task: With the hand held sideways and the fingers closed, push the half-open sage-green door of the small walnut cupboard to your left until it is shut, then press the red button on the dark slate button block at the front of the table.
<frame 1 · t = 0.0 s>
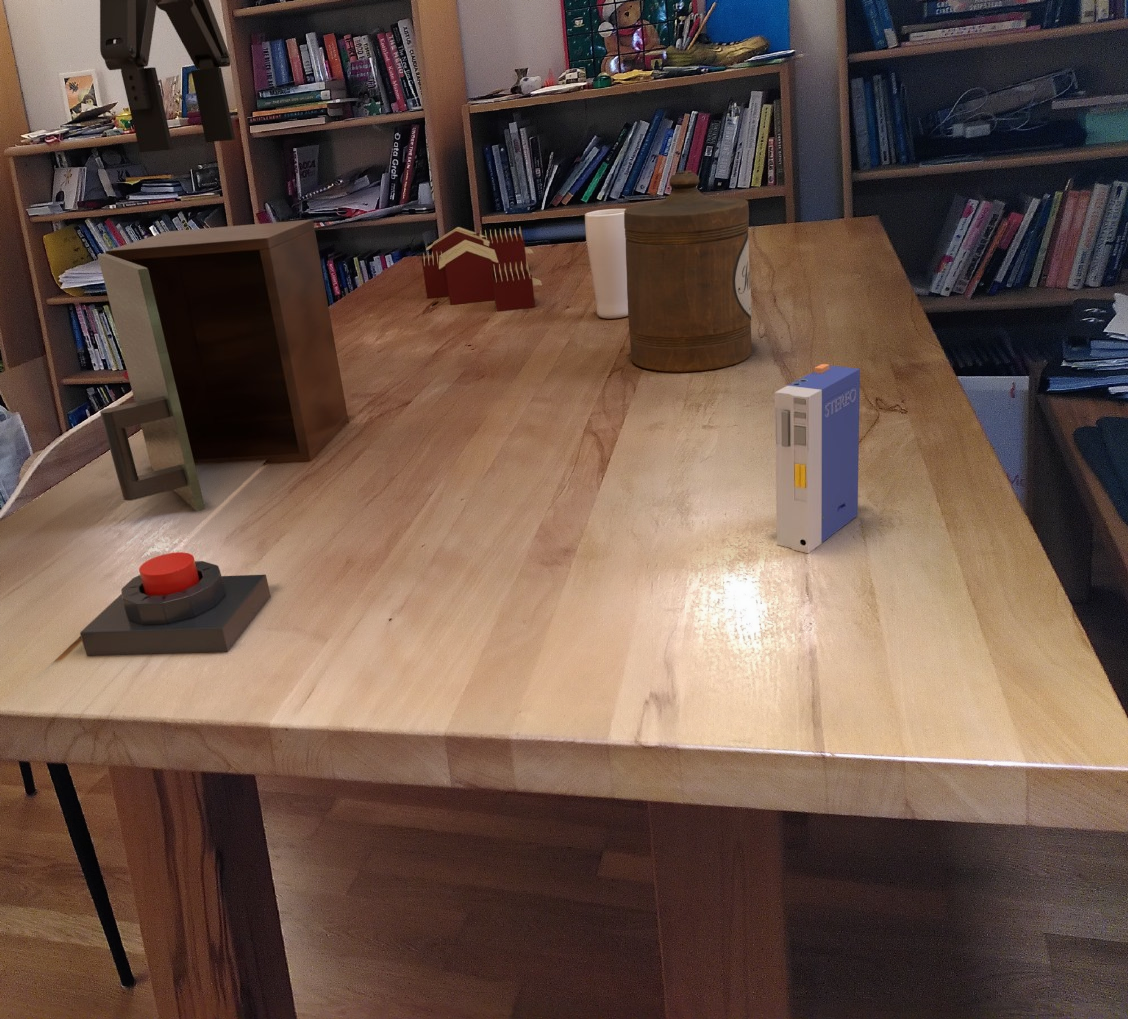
hand: (190, 145, 96), 30 cm above the table, tool pointing down, fingers open, 13 cm apart
toy houses: (485, 289, 186), on the table
walkman: (818, 532, 78), on the table
red button: (169, 574, 72), point 4 cm above the table, slide at 0.1 cm
cupboard: (258, 445, 111), on the table
drinking glass: (615, 317, 155), on the table
cupboard door: (120, 387, 94), point 11 cm above the table, hinge at 50.0°
wooden container: (691, 358, 129), on the table
button block: (182, 626, 73), on the table
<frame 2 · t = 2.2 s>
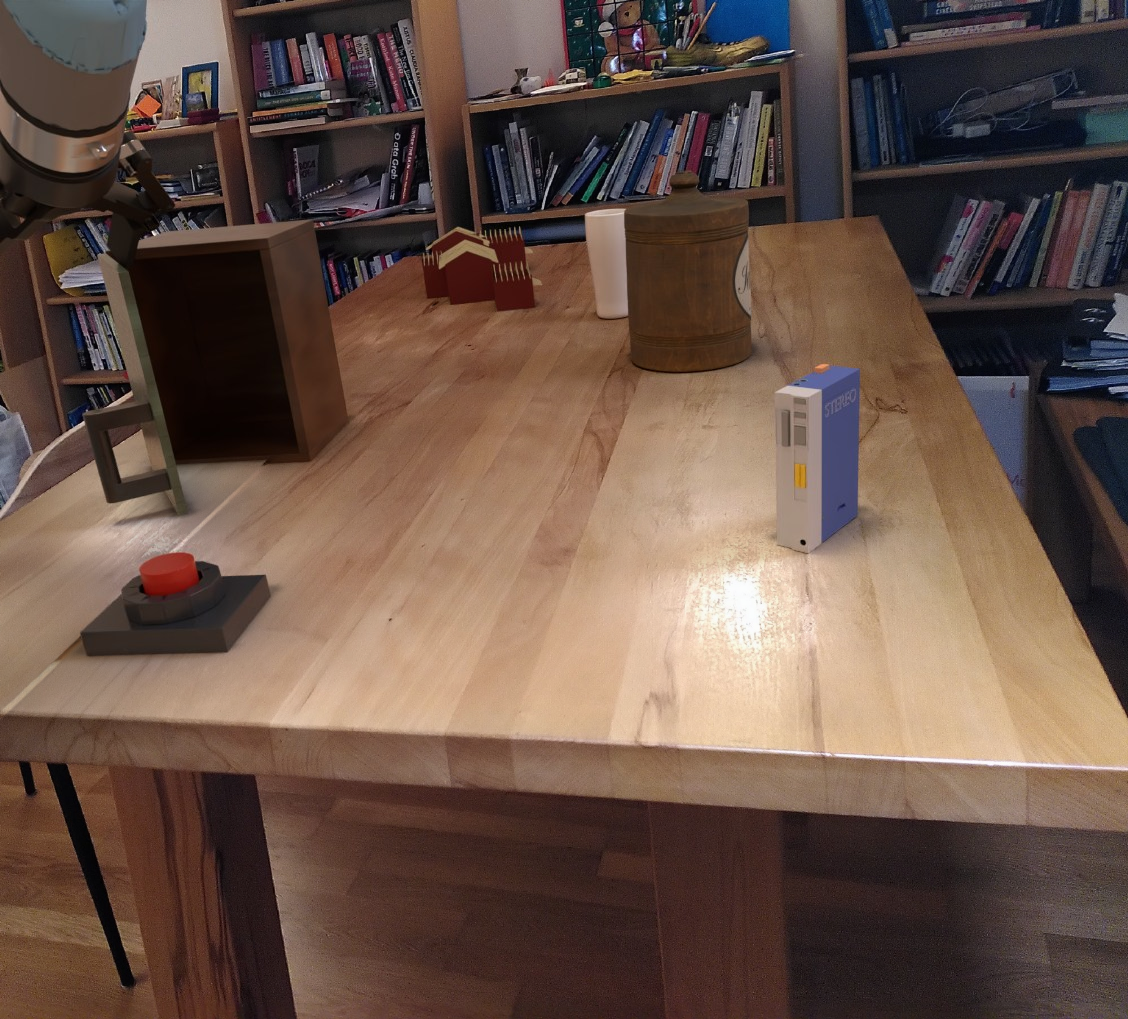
hand: (44, 285, 87), 21 cm above the table, tool tilted 55°, fingers open, 13 cm apart
cupboard door: (111, 388, 94), point 11 cm above the table, hinge at 55.5°, touching gripper
everything else where it was.
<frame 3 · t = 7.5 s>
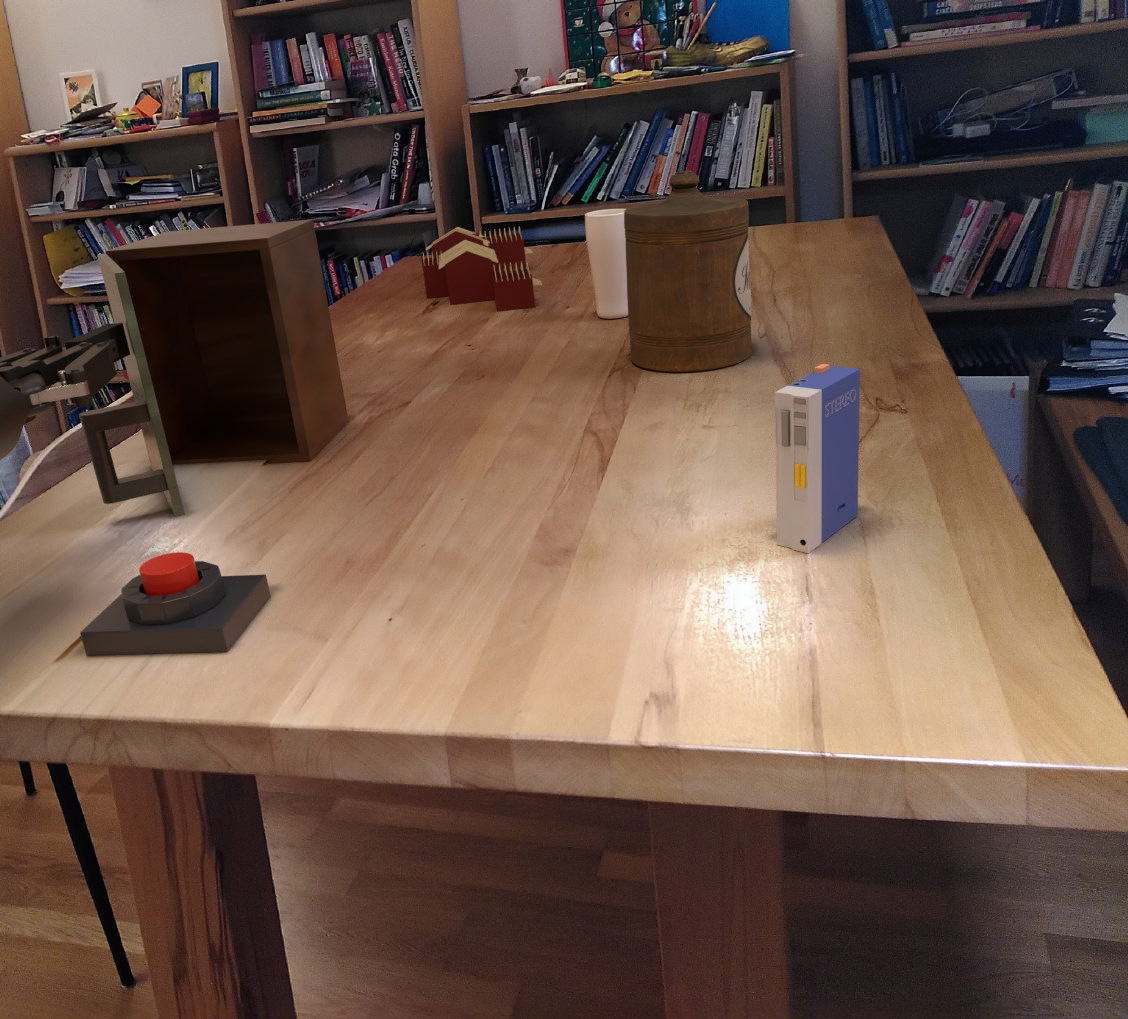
hand: (118, 339, 88), 16 cm above the table, tool horizontal, fingers closed
cupboard door: (109, 389, 94), point 11 cm above the table, hinge at 56.5°
everything else where it was.
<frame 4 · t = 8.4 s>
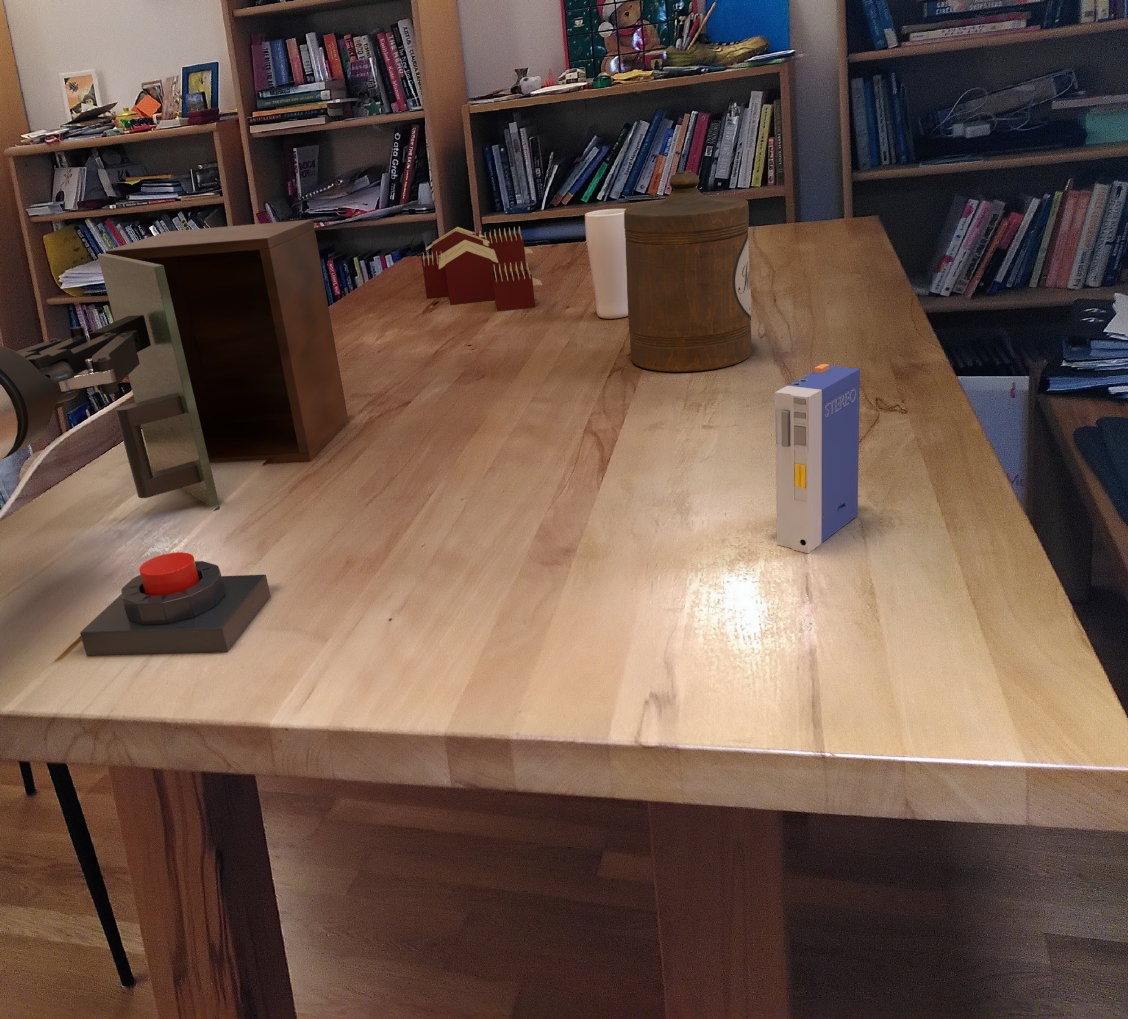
hand: (139, 330, 91), 16 cm above the table, tool horizontal, fingers closed
cupboard door: (128, 386, 94), point 11 cm above the table, hinge at 45.3°, touching gripper
everything else where it was.
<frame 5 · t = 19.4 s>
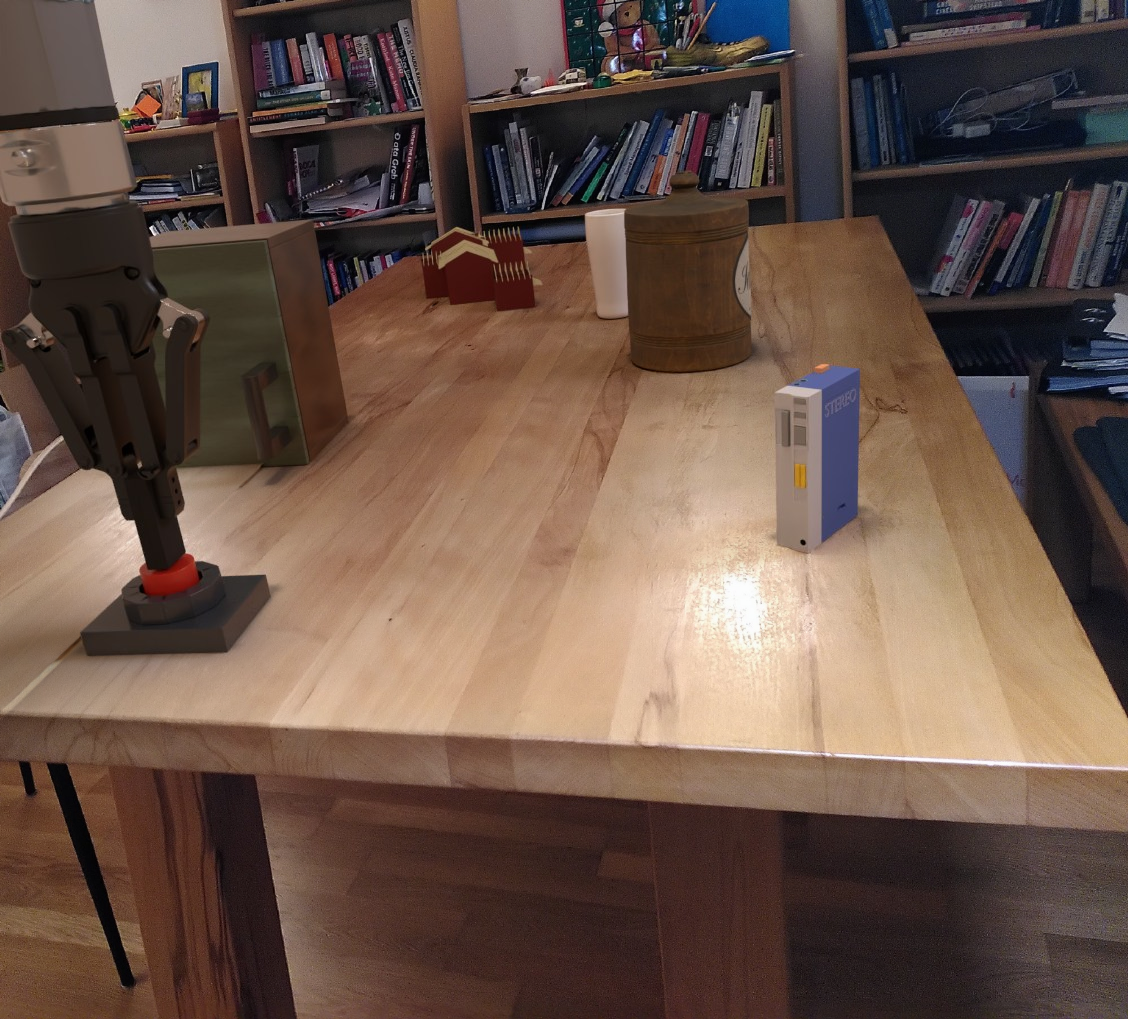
hand: (167, 560, 71), 5 cm above the table, tool pointing down, fingers closed
red button: (169, 575, 72), point 4 cm above the table, slide at 0.1 cm, touching gripper
cupboard door: (196, 368, 98), point 11 cm above the table, hinge at -0.2°
everything else where it was.
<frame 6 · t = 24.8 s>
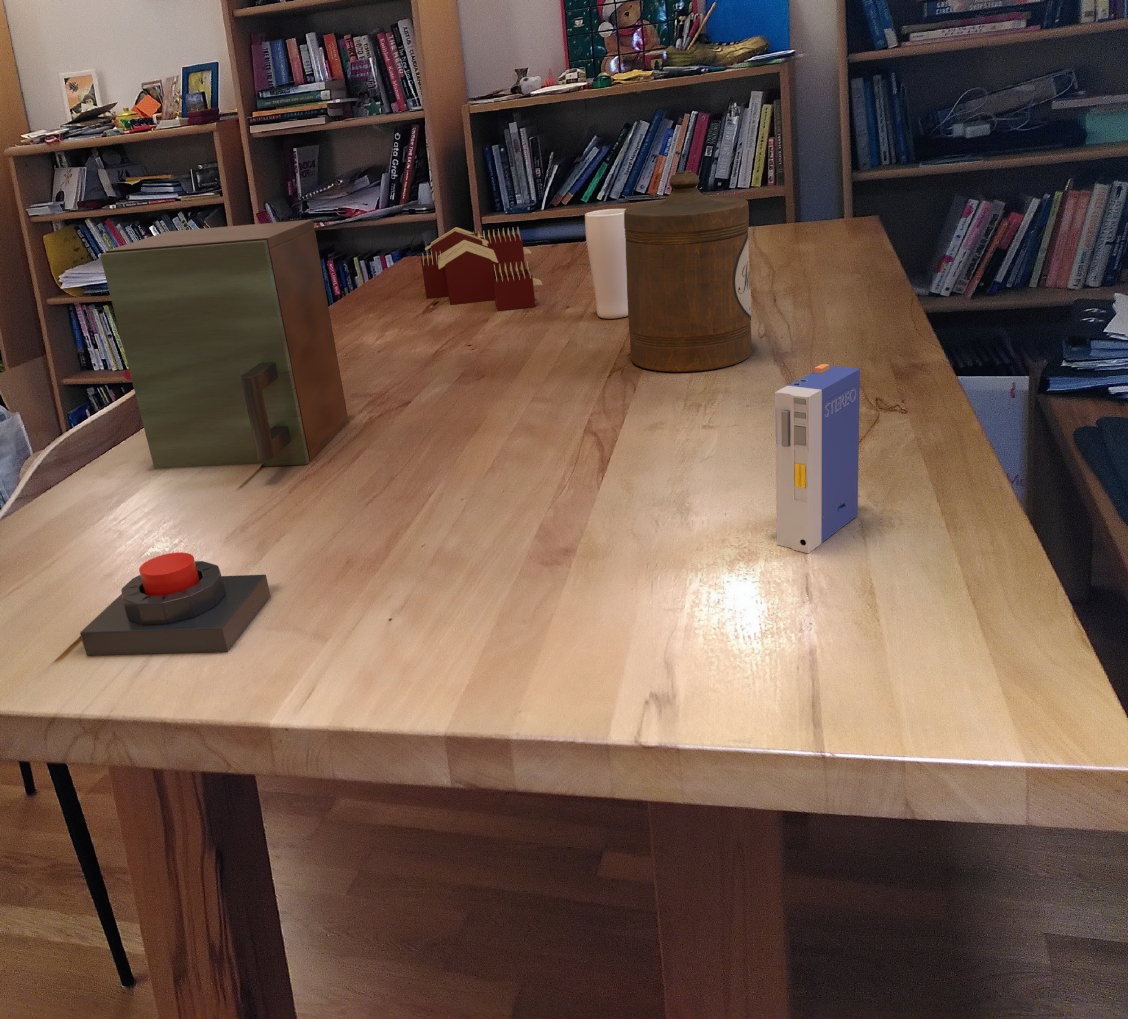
red button: (169, 574, 72), point 4 cm above the table, slide at 0.1 cm
everything else where it was.
at the end: cupboard door at +0° (first picture: +50°); red button pushed in 0.8 cm at the most during the clip, back to where it started at the end; red button slide at 0.1 cm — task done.
